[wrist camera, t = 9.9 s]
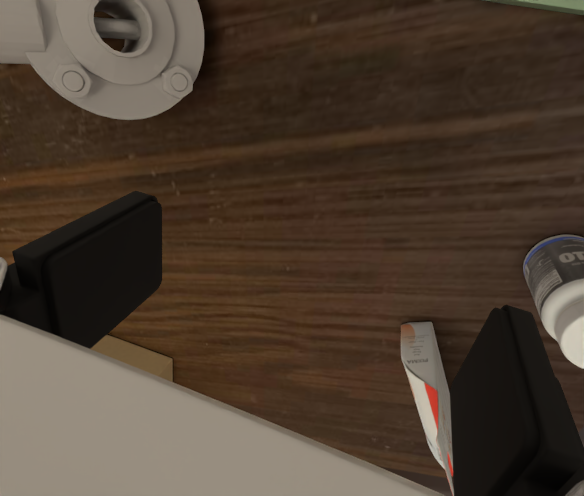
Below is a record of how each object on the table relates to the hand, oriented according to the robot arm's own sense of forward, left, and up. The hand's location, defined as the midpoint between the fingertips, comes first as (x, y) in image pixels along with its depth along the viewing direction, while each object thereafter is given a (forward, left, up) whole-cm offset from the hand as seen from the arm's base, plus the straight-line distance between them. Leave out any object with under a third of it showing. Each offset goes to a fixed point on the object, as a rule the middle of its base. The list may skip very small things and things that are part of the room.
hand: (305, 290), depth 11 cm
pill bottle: (+14, -5, -19) cm, 24 cm away
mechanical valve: (-23, +3, -19) cm, 30 cm away
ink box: (+9, -17, -19) cm, 27 cm away
